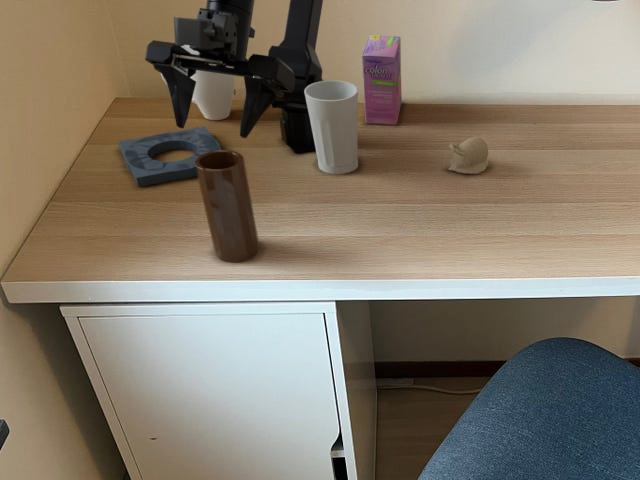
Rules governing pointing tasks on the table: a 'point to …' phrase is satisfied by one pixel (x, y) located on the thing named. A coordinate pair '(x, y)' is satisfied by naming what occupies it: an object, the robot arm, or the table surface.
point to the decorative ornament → (470, 156)
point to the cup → (334, 124)
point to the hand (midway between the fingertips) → (211, 132)
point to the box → (382, 79)
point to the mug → (212, 91)
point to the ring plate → (146, 147)
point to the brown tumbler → (228, 205)
